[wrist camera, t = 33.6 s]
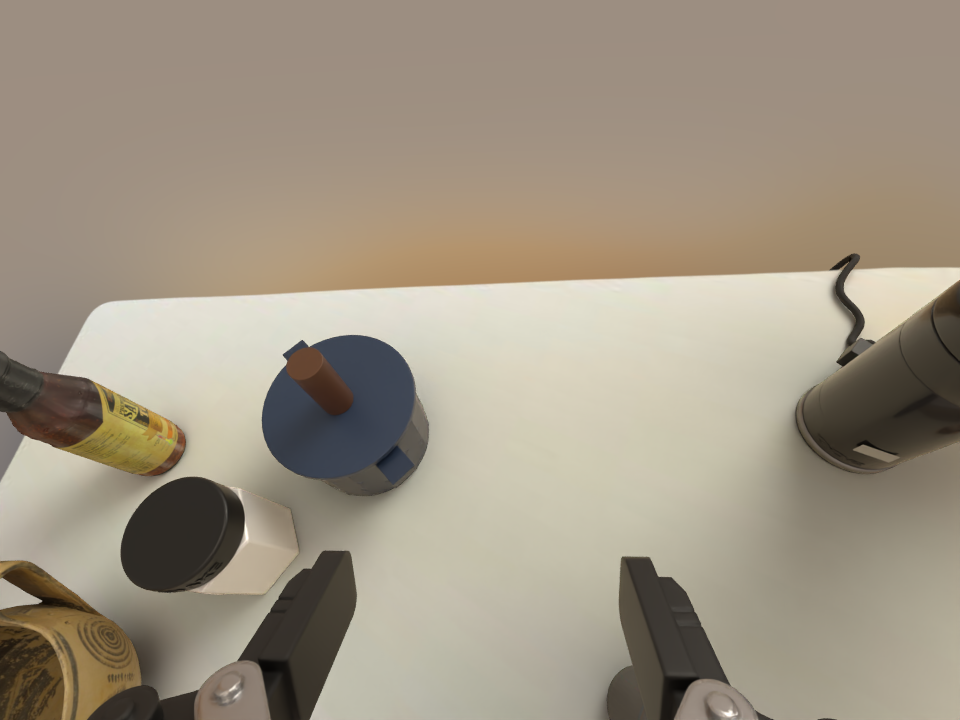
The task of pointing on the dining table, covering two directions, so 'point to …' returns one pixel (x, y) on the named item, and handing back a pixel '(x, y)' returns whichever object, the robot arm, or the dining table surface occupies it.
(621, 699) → the bottle
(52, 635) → the ceramic bowl
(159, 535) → the jar
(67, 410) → the sauce bottle
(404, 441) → the pot
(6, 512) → the dining table surface
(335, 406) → the lid
